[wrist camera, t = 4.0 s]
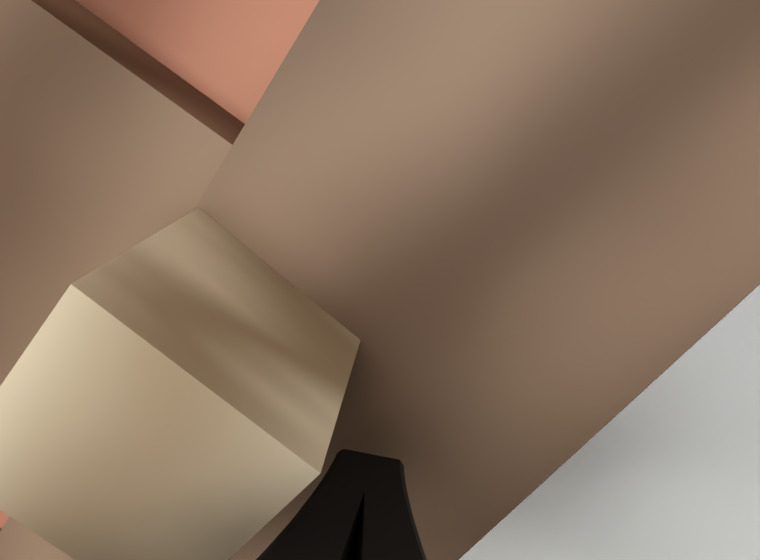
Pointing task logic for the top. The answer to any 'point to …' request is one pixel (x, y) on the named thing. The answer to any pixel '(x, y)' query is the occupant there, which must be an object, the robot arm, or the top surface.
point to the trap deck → (406, 203)
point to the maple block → (171, 402)
